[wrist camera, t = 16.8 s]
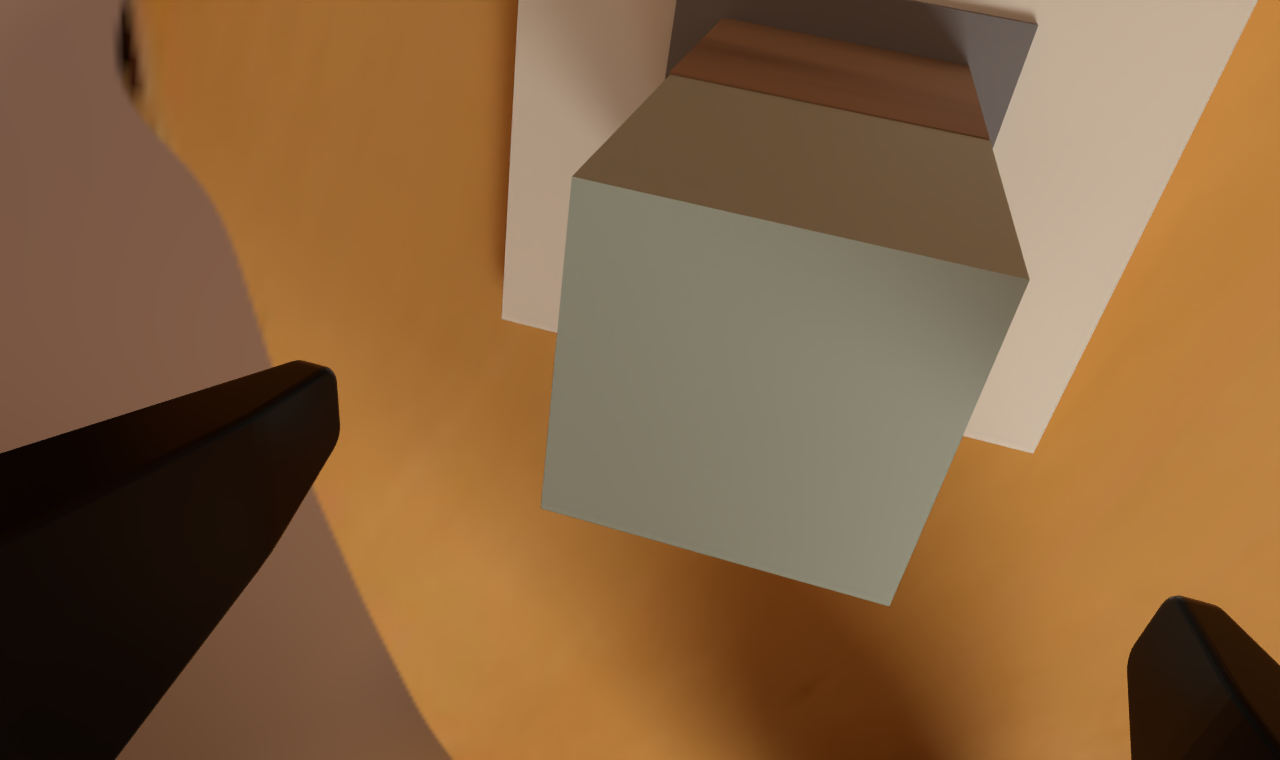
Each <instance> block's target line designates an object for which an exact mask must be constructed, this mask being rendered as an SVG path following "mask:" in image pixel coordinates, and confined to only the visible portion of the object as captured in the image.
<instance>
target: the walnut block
mask: <svg viewBox="0 0 1280 760" xmlns="http://www.w3.org/2000/svg"><path fill="white" fill-rule="evenodd" d="M669 75H675V76H680V77H684V78H689V79H694V80H699V81H704V82H709V83H714V84H718V85H723V86H728V87H733V88H738V89H743V90H748V91H752V92H757V93H762V94H767V95H772V96H777V97H782V98H786V99H791V100H796V101H801V102H806V103H811V104H816V105H821V106H825V107H830V108H835V109H840V110H845V111H850V112H855V113H859V114H864V115H869V116H874V117H879V118H884V119H889V120H893V121H898V122H903V123H908V124H913V125H918V126H923V127H927V128H932V129H937V130H942V131H947V132H952V133H957V134H961V135H966V136H971V137H976V138H981V139H986V140H989V139H990V138H989V134H988V131H987V127H986V124H985V120H984V117H983V113H982V110H981V106H980V103H979V99H978V96H977V92H976V89H975V85H974V82H973V78H972V75H971V71H970V68H969V66H967V65H962V64H957V63H952V62H947V61H942V60H937V59H932V58H926V57H921V56H916V55H911V54H906V53H901V52H896V51H891V50H886V49H881V48H876V47H871V46H866V45H861V44H855V43H850V42H845V41H840V40H835V39H830V38H825V37H820V36H815V35H810V34H805V33H800V32H795V31H789V30H784V29H779V28H774V27H769V26H764V25H759V24H754V23H749V22H744V21H739V20H734V19H729V18H724V17H723V18H722V19H721V20H720V21H719V22H718V23H717V24H716V25H715V26H714V27H713V28H712V29H711V30H710V31H709V32H708V33H707V34H706V35H705V36H704V37H703V38H702V40H701V41H700V42H699V43H698V44H697V45H696V46H695V47H694V48H693V49H692V50H691V51H690V52H689V53H688V54H687V55H686V56H685V57H684V58H683V59H682V60H681V61H680V62H679V63H678V64H677V65H676V66H675V67H674V68H673V69H672V70H671V71H670V73H669Z"/></svg>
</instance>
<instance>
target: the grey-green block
mask: <svg viewBox="0 0 1280 760" xmlns="http://www.w3.org/2000/svg"><path fill="white" fill-rule="evenodd" d="M1029 281H1030V279H1029V275H1028V272H1027V268H1026V265H1025V261H1024V258H1023V254H1022V251H1021V247H1020V244H1019V240H1018V237H1017V233H1016V230H1015V226H1014V223H1013V219H1012V216H1011V212H1010V209H1009V205H1008V201H1007V198H1006V194H1005V191H1004V187H1003V184H1002V180H1001V177H1000V173H999V170H998V166H997V163H996V159H995V156H994V152H993V149H992V145H991V142H990V140H986V139H981V138H976V137H971V136H966V135H961V134H957V133H952V132H947V131H942V130H937V129H932V128H927V127H923V126H918V125H913V124H908V123H903V122H898V121H893V120H889V119H884V118H879V117H874V116H869V115H864V114H859V113H855V112H850V111H845V110H840V109H835V108H830V107H825V106H821V105H816V104H811V103H806V102H801V101H796V100H791V99H786V98H782V97H777V96H772V95H767V94H762V93H757V92H752V91H748V90H743V89H738V88H733V87H728V86H723V85H718V84H714V83H709V82H704V81H699V80H694V79H689V78H684V77H680V76H675V75H669V76H668V77H667V78H666V79H665V80H664V82H663V83H662V84H661V85H660V86H659V87H658V88H657V89H656V90H655V91H654V92H653V93H652V94H651V95H650V96H649V97H648V98H647V99H646V100H645V101H644V102H643V103H642V104H641V105H640V106H639V107H638V108H637V109H636V111H635V112H634V113H633V114H632V115H631V116H630V117H629V118H628V119H627V120H626V121H625V122H624V123H623V124H622V125H621V126H620V127H619V128H618V129H617V130H616V131H615V132H614V133H613V134H612V135H611V136H610V137H609V138H608V140H607V141H606V142H605V143H604V144H603V145H602V146H601V147H600V148H599V149H598V150H597V151H596V152H595V153H594V154H593V155H592V156H591V157H590V158H589V159H588V160H587V161H586V162H585V163H584V164H583V165H582V166H581V167H580V169H579V170H578V171H577V172H576V173H575V174H574V175H573V176H572V180H571V191H570V201H569V212H568V223H567V233H566V244H565V255H564V266H563V276H562V287H561V298H560V309H559V319H558V330H557V341H556V351H555V362H554V373H553V384H552V394H551V405H550V416H549V426H548V437H547V448H546V459H545V469H544V480H543V491H542V501H541V509H545V510H548V511H552V512H556V513H559V514H563V515H566V516H570V517H573V518H577V519H580V520H584V521H588V522H591V523H595V524H598V525H602V526H605V527H609V528H612V529H616V530H619V531H623V532H627V533H630V534H634V535H637V536H641V537H644V538H648V539H651V540H655V541H659V542H662V543H666V544H669V545H673V546H676V547H680V548H683V549H687V550H691V551H694V552H698V553H701V554H705V555H708V556H712V557H715V558H719V559H722V560H726V561H730V562H733V563H737V564H740V565H744V566H747V567H751V568H754V569H758V570H762V571H765V572H769V573H772V574H776V575H779V576H783V577H786V578H790V579H794V580H797V581H801V582H804V583H808V584H811V585H815V586H818V587H822V588H825V589H829V590H833V591H836V592H840V593H843V594H847V595H850V596H854V597H857V598H861V599H865V600H868V601H872V602H875V603H879V604H882V605H886V606H890V604H891V602H892V599H893V597H894V595H895V592H896V590H897V588H898V585H899V583H900V581H901V578H902V576H903V574H904V571H905V569H906V567H907V564H908V562H909V560H910V557H911V555H912V553H913V550H914V548H915V546H916V543H917V541H918V539H919V536H920V534H921V532H922V529H923V527H924V525H925V522H926V520H927V518H928V515H929V513H930V511H931V508H932V506H933V504H934V501H935V499H936V497H937V495H938V492H939V490H940V488H941V485H942V483H943V481H944V478H945V476H946V474H947V471H948V469H949V467H950V464H951V462H952V460H953V457H954V455H955V453H956V450H957V448H958V446H959V443H960V441H961V439H962V436H963V434H964V432H965V429H966V427H967V425H968V422H969V420H970V418H971V415H972V413H973V411H974V408H975V406H976V404H977V401H978V399H979V397H980V395H981V392H982V390H983V388H984V385H985V383H986V381H987V378H988V376H989V374H990V371H991V369H992V367H993V364H994V362H995V360H996V357H997V355H998V353H999V350H1000V348H1001V346H1002V343H1003V341H1004V339H1005V336H1006V334H1007V332H1008V329H1009V327H1010V325H1011V322H1012V320H1013V318H1014V315H1015V313H1016V311H1017V308H1018V306H1019V304H1020V301H1021V299H1022V297H1023V294H1024V292H1025V290H1026V288H1027V285H1028V283H1029Z"/></svg>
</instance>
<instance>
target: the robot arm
mask: <svg viewBox="0 0 1280 760" xmlns="http://www.w3.org/2000/svg"><path fill="white" fill-rule="evenodd" d="M339 432H340V418H339V404H338V391H337V380H336V376H335V374H334V372H333V371H332V370H331V369H330V368H328V367H325V366H321V365H318V364H314V363H310V362H306V361H301V360H296V361H292V362H289V363H285V364H282V365H279V366H276V367H273V368H270V369H266V370H264V371H260V372H257V373H254V374H251V375H247V376H244V377H241V378H238V379H235V380H232V381H228V382H225V383H222V384H219V385H216V386H213V387H210V388H206V389H203V390H200V391H197V392H194V393H190V394H187V395H184V396H181V397H178V398H175V399H171V400H169V401H165V402H162V403H159V404H156V405H153V406H149V407H146V408H143V409H140V410H136V411H133V412H130V413H127V414H124V415H121V416H118V417H114V418H111V419H108V420H105V421H102V422H98V423H95V424H92V425H89V426H86V427H83V428H80V429H77V430H73V431H70V432H67V433H64V434H60V435H57V436H54V437H51V438H48V439H45V440H41V441H38V442H35V443H32V444H29V445H26V446H22V447H19V448H16V449H13V450H10V451H7V452H3V453H0V760H115V759H116V758H117V757H118V755H119V754H120V753H121V751H122V750H123V749H124V747H125V746H126V745H127V744H128V742H129V741H130V740H131V738H132V737H133V736H134V734H135V733H136V732H137V730H138V729H139V728H140V726H141V725H142V724H143V722H144V721H145V720H146V718H147V717H148V716H149V714H150V713H151V712H152V710H153V709H154V708H155V706H156V705H157V704H158V703H159V701H160V700H161V699H162V697H163V696H164V695H165V693H166V692H167V691H168V689H169V688H170V687H171V685H172V684H173V683H174V681H175V680H176V679H177V677H178V676H179V675H180V674H181V672H182V671H183V670H184V668H185V667H186V666H187V664H188V663H189V662H190V660H191V659H192V658H193V656H194V655H195V654H196V652H197V651H198V650H199V648H200V647H201V646H202V644H203V643H204V641H205V640H206V639H207V638H208V636H209V635H210V634H211V633H212V631H213V630H214V629H215V627H216V626H217V625H218V623H219V622H220V621H221V619H222V618H223V617H224V615H225V614H226V613H227V611H228V610H229V609H230V607H231V606H232V605H233V603H234V602H235V601H236V600H237V598H238V597H239V596H240V594H241V593H242V592H243V590H244V589H245V587H246V586H247V585H248V584H249V582H250V581H251V580H252V578H253V577H254V576H255V574H256V573H257V572H258V570H259V569H260V568H261V566H262V565H263V564H264V562H265V561H266V559H267V558H268V556H269V555H270V554H271V552H272V551H273V549H274V548H275V546H276V544H277V543H278V541H279V540H280V538H281V537H282V535H283V533H284V532H285V530H286V528H287V527H288V525H289V523H290V522H291V520H292V518H293V517H294V515H295V513H296V512H297V510H298V508H299V506H300V505H301V503H302V501H303V500H304V498H305V496H306V495H307V493H308V491H309V490H310V488H311V486H312V485H313V483H314V481H315V480H316V478H317V476H318V475H319V473H320V471H321V470H322V468H323V466H324V464H325V463H326V461H327V459H328V458H329V456H330V454H331V453H332V451H333V449H334V447H335V445H336V443H337V440H338V437H339ZM1127 680H1128V700H1129V720H1130V740H1131V760H1280V665H1279V664H1278V663H1277V662H1276V661H1275V660H1274V659H1273V658H1272V657H1271V656H1269V655H1268V654H1267V653H1266V652H1265V651H1264V650H1263V649H1262V648H1261V647H1260V646H1259V645H1258V644H1257V643H1256V642H1255V641H1254V640H1253V639H1252V638H1251V637H1250V636H1249V635H1248V634H1247V633H1246V632H1245V631H1244V630H1243V629H1242V628H1241V627H1240V626H1239V625H1238V624H1237V623H1236V622H1235V621H1234V620H1233V619H1232V618H1231V617H1230V616H1229V615H1228V614H1227V613H1225V612H1224V611H1223V610H1222V609H1221V608H1219V607H1218V606H1216V605H1213V604H1210V603H1206V602H1202V601H1199V600H1195V599H1191V598H1187V597H1184V596H1172V597H1170V598H1168V599H1167V600H1165V601H1164V603H1163V604H1162V605H1161V606H1160V608H1159V609H1158V611H1157V612H1156V614H1155V615H1154V616H1153V618H1152V619H1151V621H1150V622H1149V624H1148V625H1147V627H1146V628H1145V630H1144V631H1143V633H1142V634H1141V635H1140V637H1139V638H1138V640H1137V641H1136V643H1135V644H1134V646H1133V648H1132V650H1131V652H1130V655H1129V659H1128V665H1127Z"/></svg>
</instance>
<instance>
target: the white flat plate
mask: <svg viewBox="0 0 1280 760" xmlns="http://www.w3.org/2000/svg"><path fill="white" fill-rule="evenodd" d="M1257 1H1258V0H518V18H517V37H516V56H515V75H514V94H513V114H512V133H511V152H510V171H509V190H508V209H507V228H506V247H505V266H504V285H503V304H502V319H504V320H508V321H511V322H515V323H519V324H523V325H527V326H531V327H535V328H539V329H543V330H547V331H551V332H555V333H557V330H558V319H559V309H560V298H561V287H562V276H563V266H564V255H565V244H566V233H567V223H568V212H569V201H570V191H571V180H572V176H573V175H574V174H575V173H576V172H577V171H578V170H579V169H580V167H581V166H582V165H583V164H584V163H585V162H586V161H587V160H588V159H589V158H590V157H591V156H592V155H593V154H594V153H595V152H596V151H597V150H598V149H599V148H600V147H601V146H602V145H603V144H604V143H605V142H606V141H607V140H608V138H609V137H610V136H611V135H612V134H613V133H614V132H615V131H616V130H617V129H618V128H619V127H620V126H621V125H622V124H623V123H624V122H625V121H626V120H627V119H628V118H629V117H630V116H631V115H632V114H633V113H634V112H635V111H636V109H637V108H638V107H639V106H640V105H641V104H642V103H643V102H644V101H645V100H646V99H647V98H648V97H649V96H650V95H651V94H652V93H653V92H654V91H655V90H656V89H657V88H658V87H659V86H660V85H661V84H662V83H663V82H664V80H665V79H666V78H667V77H668V76H669V73H670V71H671V70H672V69H673V68H674V67H675V66H676V65H677V64H678V63H679V62H680V61H681V60H682V59H683V58H684V57H685V56H686V55H687V54H688V53H689V52H690V51H691V50H692V49H693V48H694V47H695V46H696V45H697V44H698V43H699V42H700V41H701V40H702V38H703V37H704V36H705V35H706V34H707V33H708V32H709V31H710V30H711V29H712V28H713V27H714V26H715V25H716V24H717V23H718V22H719V21H720V20H721V19H722V18H723V17H724V18H729V19H734V20H739V21H744V22H749V23H754V24H759V25H764V26H769V27H774V28H779V29H784V30H789V31H795V32H800V33H805V34H810V35H815V36H820V37H825V38H830V39H835V40H840V41H845V42H850V43H855V44H861V45H866V46H871V47H876V48H881V49H886V50H891V51H896V52H901V53H906V54H911V55H916V56H921V57H926V58H932V59H937V60H942V61H947V62H952V63H957V64H962V65H967V66H969V68H970V71H971V75H972V78H973V82H974V85H975V89H976V92H977V96H978V99H979V103H980V106H981V110H982V113H983V117H984V120H985V124H986V127H987V131H988V134H989V138H990V139H989V140H990V142H991V145H992V149H993V152H994V156H995V159H996V163H997V166H998V170H999V173H1000V177H1001V180H1002V184H1003V187H1004V191H1005V194H1006V198H1007V201H1008V205H1009V209H1010V212H1011V216H1012V219H1013V223H1014V226H1015V230H1016V233H1017V237H1018V240H1019V244H1020V247H1021V251H1022V254H1023V258H1024V261H1025V265H1026V268H1027V272H1028V275H1029V279H1030V281H1029V283H1028V285H1027V288H1026V290H1025V292H1024V294H1023V297H1022V299H1021V301H1020V304H1019V306H1018V308H1017V311H1016V313H1015V315H1014V318H1013V320H1012V322H1011V325H1010V327H1009V329H1008V332H1007V334H1006V336H1005V339H1004V341H1003V343H1002V346H1001V348H1000V350H999V353H998V355H997V357H996V360H995V362H994V364H993V367H992V369H991V371H990V374H989V376H988V378H987V381H986V383H985V385H984V388H983V390H982V392H981V395H980V397H979V399H978V401H977V404H976V406H975V408H974V411H973V413H972V415H971V418H970V420H969V422H968V425H967V427H966V429H965V432H964V434H963V436H966V437H970V438H974V439H978V440H982V441H986V442H989V443H993V444H997V445H1001V446H1005V447H1009V448H1013V449H1017V450H1021V451H1025V452H1029V453H1034V451H1035V449H1036V447H1037V445H1038V443H1039V441H1040V439H1041V437H1042V435H1043V433H1044V431H1045V429H1046V427H1047V425H1048V423H1049V420H1050V418H1051V416H1052V414H1053V412H1054V410H1055V408H1056V406H1057V404H1058V402H1059V400H1060V398H1061V396H1062V394H1063V392H1064V390H1065V388H1066V386H1067V384H1068V382H1069V380H1070V378H1071V376H1072V374H1073V372H1074V370H1075V368H1076V366H1077V364H1078V362H1079V360H1080V358H1081V356H1082V354H1083V352H1084V350H1085V348H1086V346H1087V344H1088V342H1089V340H1090V338H1091V336H1092V334H1093V332H1094V330H1095V328H1096V326H1097V324H1098V322H1099V320H1100V318H1101V316H1102V314H1103V312H1104V310H1105V308H1106V306H1107V304H1108V302H1109V299H1110V297H1111V295H1112V293H1113V291H1114V289H1115V287H1116V285H1117V283H1118V281H1119V279H1120V277H1121V275H1122V273H1123V271H1124V269H1125V267H1126V265H1127V263H1128V261H1129V259H1130V257H1131V255H1132V253H1133V251H1134V249H1135V247H1136V245H1137V243H1138V241H1139V239H1140V237H1141V235H1142V233H1143V231H1144V229H1145V227H1146V225H1147V223H1148V221H1149V219H1150V217H1151V215H1152V213H1153V211H1154V209H1155V207H1156V205H1157V203H1158V201H1159V199H1160V197H1161V195H1162V193H1163V191H1164V189H1165V187H1166V185H1167V183H1168V181H1169V179H1170V176H1171V174H1172V172H1173V170H1174V168H1175V166H1176V164H1177V162H1178V160H1179V158H1180V156H1181V154H1182V152H1183V150H1184V148H1185V146H1186V144H1187V142H1188V140H1189V138H1190V136H1191V134H1192V132H1193V130H1194V128H1195V126H1196V124H1197V122H1198V120H1199V118H1200V116H1201V114H1202V112H1203V110H1204V108H1205V106H1206V104H1207V102H1208V100H1209V98H1210V96H1211V94H1212V92H1213V90H1214V88H1215V86H1216V84H1217V82H1218V80H1219V78H1220V76H1221V74H1222V72H1223V70H1224V68H1225V66H1226V64H1227V62H1228V60H1229V58H1230V55H1231V53H1232V51H1233V49H1234V47H1235V45H1236V43H1237V41H1238V39H1239V37H1240V35H1241V33H1242V31H1243V29H1244V27H1245V25H1246V23H1247V21H1248V19H1249V17H1250V15H1251V13H1252V11H1253V9H1254V7H1255V5H1256V3H1257Z"/></svg>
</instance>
